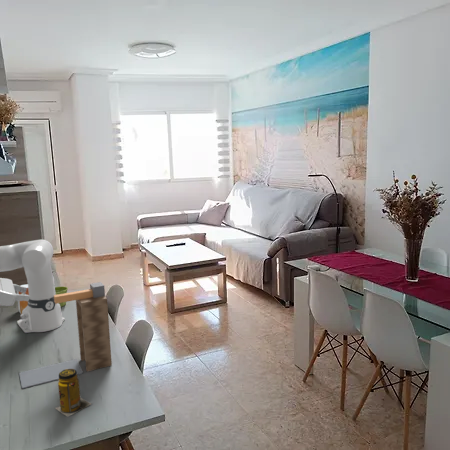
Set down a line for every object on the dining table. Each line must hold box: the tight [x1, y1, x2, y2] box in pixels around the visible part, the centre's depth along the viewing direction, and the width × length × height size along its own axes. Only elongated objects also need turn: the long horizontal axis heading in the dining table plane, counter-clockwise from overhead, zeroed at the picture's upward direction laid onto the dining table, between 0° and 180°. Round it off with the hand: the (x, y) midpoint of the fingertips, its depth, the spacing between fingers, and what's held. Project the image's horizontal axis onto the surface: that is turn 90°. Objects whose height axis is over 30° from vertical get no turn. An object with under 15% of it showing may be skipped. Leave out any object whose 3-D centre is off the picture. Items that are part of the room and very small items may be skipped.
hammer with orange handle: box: [54, 281, 106, 304], centre depth 160 cm, size 17×5×4 cm, turn 119°
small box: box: [16, 283, 29, 315], centre depth 220 cm, size 8×6×13 cm
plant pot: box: [55, 286, 69, 308], centre depth 227 cm, size 9×9×9 cm
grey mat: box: [18, 358, 84, 390], centre depth 159 cm, size 20×12×1 cm, turn 119°
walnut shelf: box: [75, 295, 113, 372], centre depth 165 cm, size 9×11×26 cm
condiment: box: [54, 369, 92, 418], centre depth 138 cm, size 7×8×12 cm
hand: (27, 294), depth 152 cm, fingers open, 8 cm apart
